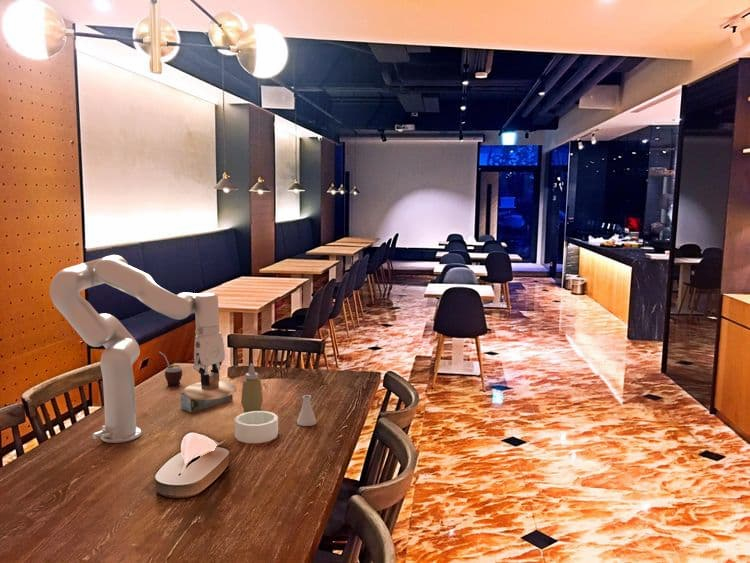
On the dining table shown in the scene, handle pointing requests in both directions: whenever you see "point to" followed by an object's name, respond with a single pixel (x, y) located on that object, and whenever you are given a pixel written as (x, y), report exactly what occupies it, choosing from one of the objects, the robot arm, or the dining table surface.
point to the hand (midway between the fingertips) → (210, 382)
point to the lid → (210, 389)
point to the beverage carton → (201, 403)
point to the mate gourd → (172, 374)
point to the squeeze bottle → (251, 391)
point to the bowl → (256, 427)
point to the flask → (306, 413)
